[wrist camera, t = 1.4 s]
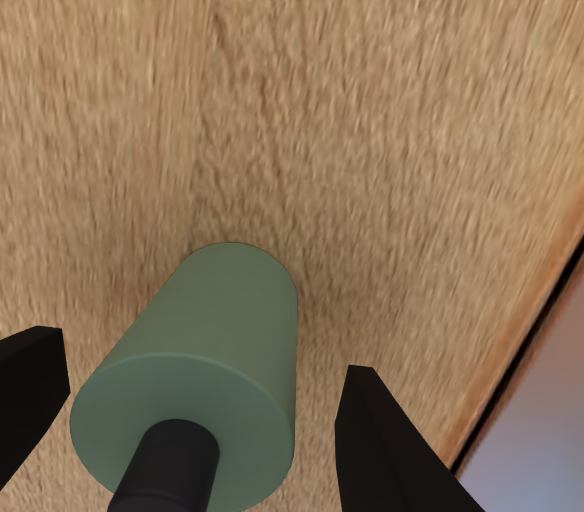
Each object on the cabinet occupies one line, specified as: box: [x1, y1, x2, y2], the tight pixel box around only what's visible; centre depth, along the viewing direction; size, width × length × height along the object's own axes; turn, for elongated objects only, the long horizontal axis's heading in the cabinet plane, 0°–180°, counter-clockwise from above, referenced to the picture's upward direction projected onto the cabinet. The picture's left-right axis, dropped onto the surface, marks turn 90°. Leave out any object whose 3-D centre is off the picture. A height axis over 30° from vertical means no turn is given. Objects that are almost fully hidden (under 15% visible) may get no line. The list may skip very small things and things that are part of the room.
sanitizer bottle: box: [70, 242, 298, 512], centre depth 9 cm, size 5×5×8 cm
